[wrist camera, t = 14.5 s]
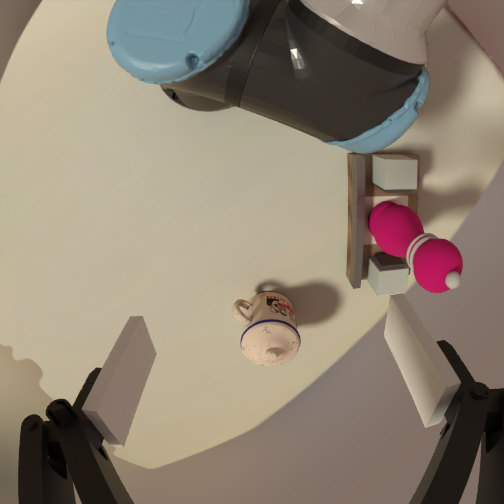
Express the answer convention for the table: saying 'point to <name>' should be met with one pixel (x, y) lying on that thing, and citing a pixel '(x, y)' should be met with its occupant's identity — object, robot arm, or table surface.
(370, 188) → the wooden frame tray
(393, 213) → the pepper mill
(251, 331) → the teacup with lid
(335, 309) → the table surface
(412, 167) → the block
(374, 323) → the table surface
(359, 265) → the steel rail bar
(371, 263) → the finger block
